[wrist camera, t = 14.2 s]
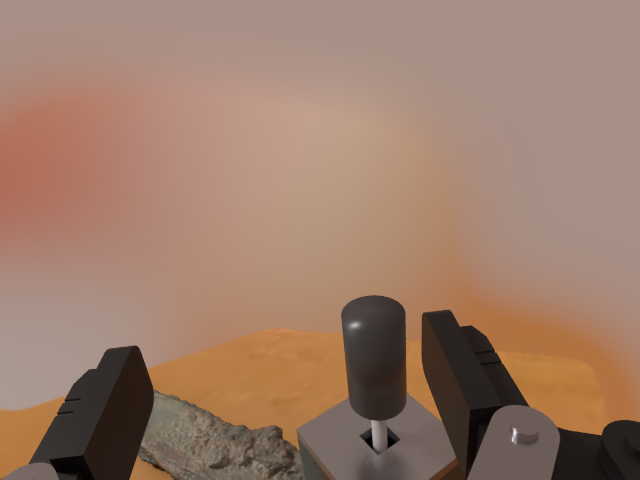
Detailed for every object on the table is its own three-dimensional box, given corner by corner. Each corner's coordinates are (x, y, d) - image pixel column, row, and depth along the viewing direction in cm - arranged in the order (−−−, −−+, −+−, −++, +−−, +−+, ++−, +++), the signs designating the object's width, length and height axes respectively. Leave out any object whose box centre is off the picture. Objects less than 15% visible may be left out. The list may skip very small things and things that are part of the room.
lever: (352, 527, 44) (328, 311, 33) (387, 500, 46) (376, 288, 35) (382, 567, 41) (368, 343, 29) (418, 536, 43) (419, 315, 31)
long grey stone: (154, 393, 70) (98, 445, 63) (142, 366, 67) (82, 417, 60) (358, 483, 51) (310, 572, 44) (351, 451, 49) (299, 540, 42)
